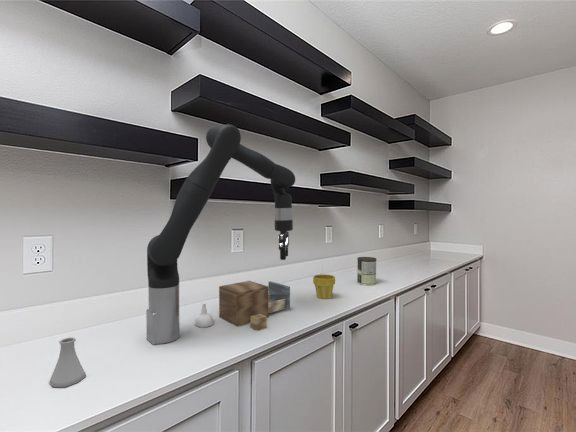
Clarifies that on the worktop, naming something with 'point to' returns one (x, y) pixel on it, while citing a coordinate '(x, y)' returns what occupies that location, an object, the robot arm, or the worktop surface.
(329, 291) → the plant pot
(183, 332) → the worktop surface
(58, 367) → the flask
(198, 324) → the garlic bulb
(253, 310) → the housing
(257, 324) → the wooden block
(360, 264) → the coffee can
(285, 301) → the drawer
